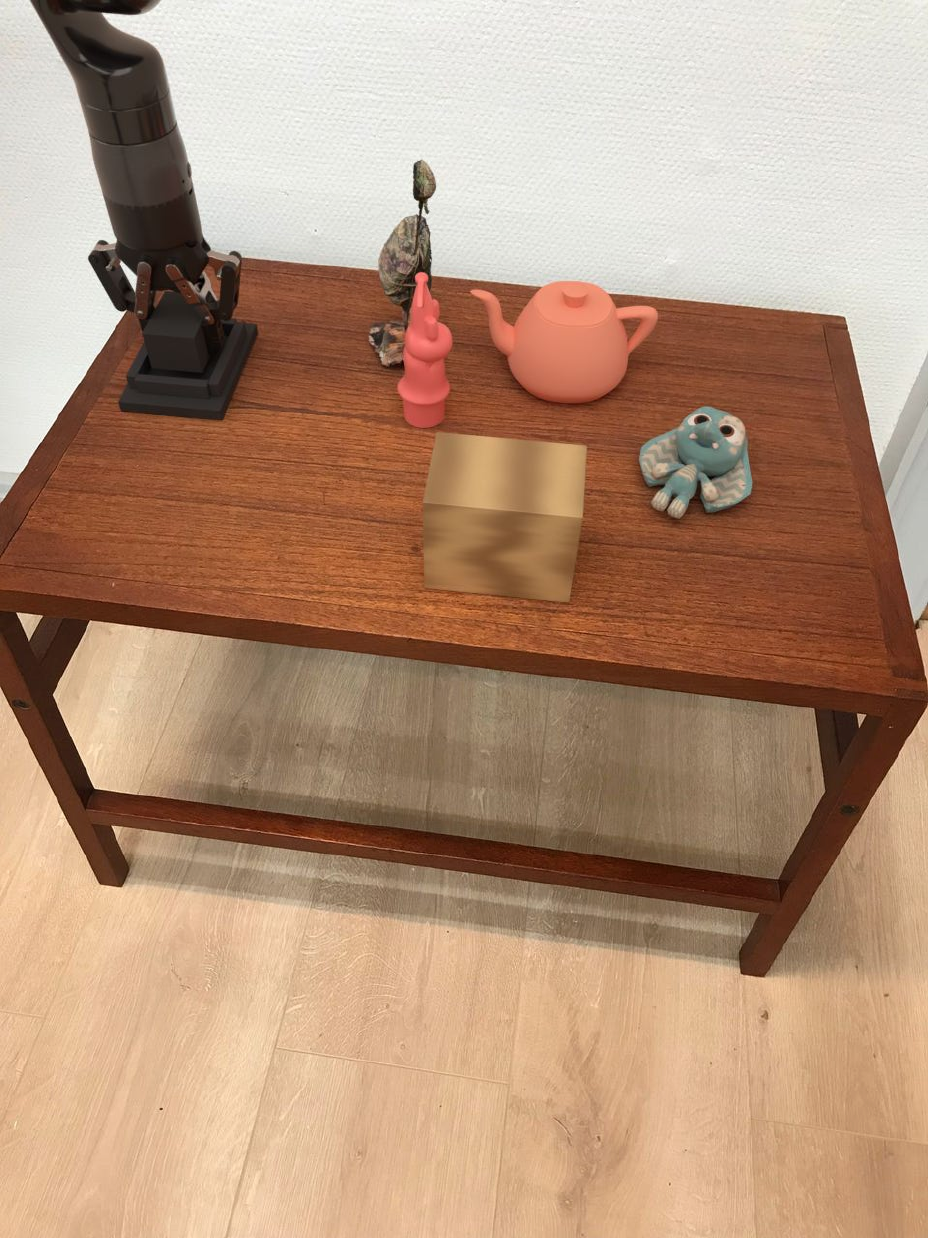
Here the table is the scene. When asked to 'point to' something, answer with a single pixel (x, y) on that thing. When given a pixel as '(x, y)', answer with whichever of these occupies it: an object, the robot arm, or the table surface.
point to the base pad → (191, 380)
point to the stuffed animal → (699, 462)
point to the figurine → (425, 361)
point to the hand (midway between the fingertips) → (187, 347)
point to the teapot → (568, 340)
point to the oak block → (503, 516)
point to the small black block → (175, 336)
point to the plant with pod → (404, 267)
